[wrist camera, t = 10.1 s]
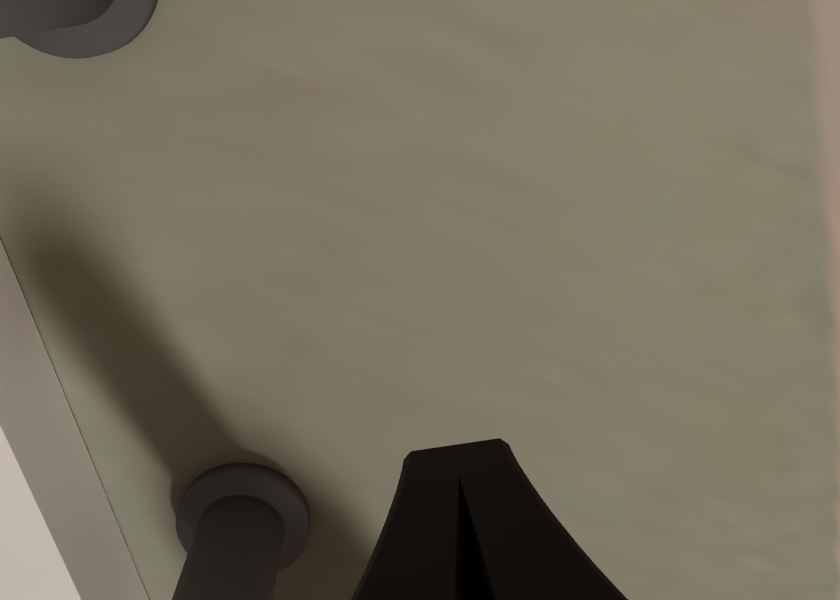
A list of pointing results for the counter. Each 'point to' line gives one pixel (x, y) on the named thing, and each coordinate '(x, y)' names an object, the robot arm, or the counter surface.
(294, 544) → the cord posts
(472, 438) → the counter surface
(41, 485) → the long narrow tray
